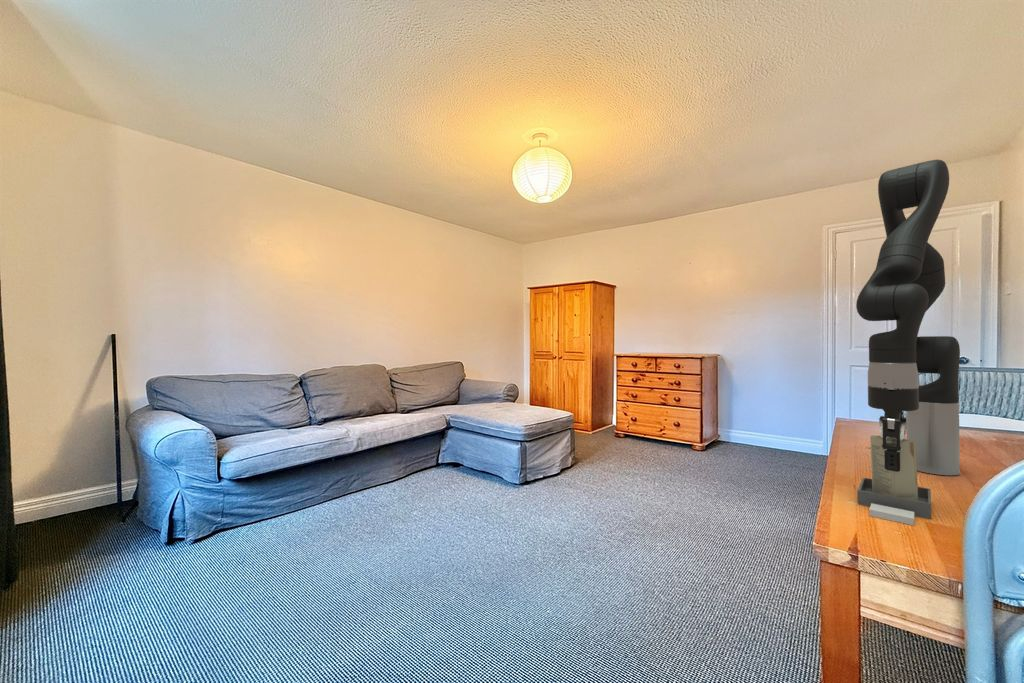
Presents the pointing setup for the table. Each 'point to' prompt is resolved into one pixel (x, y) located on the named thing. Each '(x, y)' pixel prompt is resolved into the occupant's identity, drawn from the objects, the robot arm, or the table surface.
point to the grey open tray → (894, 504)
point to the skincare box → (892, 481)
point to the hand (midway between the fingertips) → (893, 465)
